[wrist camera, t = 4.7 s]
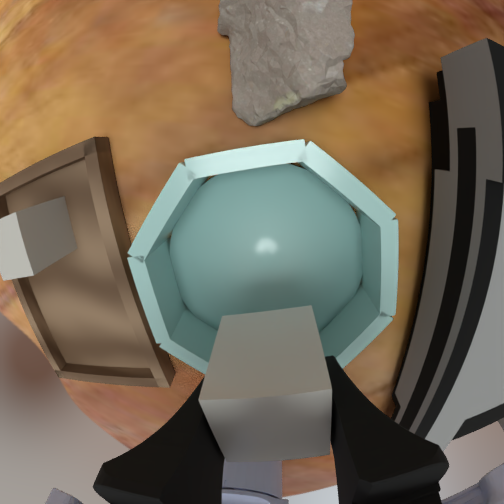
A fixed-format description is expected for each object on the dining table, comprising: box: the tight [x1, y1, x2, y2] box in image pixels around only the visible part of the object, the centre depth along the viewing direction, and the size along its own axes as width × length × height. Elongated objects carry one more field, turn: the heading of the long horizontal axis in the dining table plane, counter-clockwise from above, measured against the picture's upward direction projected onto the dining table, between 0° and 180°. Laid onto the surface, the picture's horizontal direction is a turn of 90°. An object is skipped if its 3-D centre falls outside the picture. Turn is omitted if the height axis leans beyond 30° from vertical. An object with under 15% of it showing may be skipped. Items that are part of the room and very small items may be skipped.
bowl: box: [127, 139, 398, 374], centre depth 17 cm, size 14×14×4 cm
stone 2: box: [198, 305, 332, 462], centre depth 11 cm, size 4×4×5 cm
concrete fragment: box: [218, 0, 355, 126], centre depth 11 cm, size 7×14×6 cm, turn 179°
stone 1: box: [0, 196, 77, 281], centre depth 16 cm, size 4×4×5 cm
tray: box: [0, 137, 175, 387], centre depth 19 cm, size 19×13×2 cm
